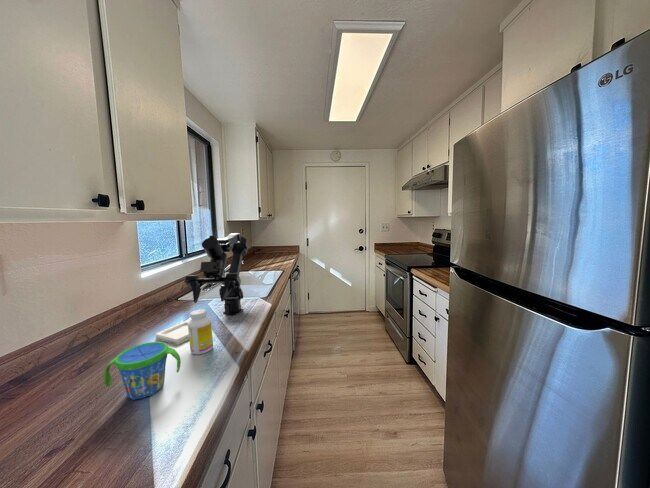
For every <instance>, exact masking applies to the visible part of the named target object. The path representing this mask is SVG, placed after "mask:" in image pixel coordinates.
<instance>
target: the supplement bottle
mask: <svg viewBox="0 0 650 488" xmlns="http://www.w3.org/2000/svg"><path fill="white" fill-rule="evenodd" d="M207 314H208V312H207V309H203V308H202V309H196V310H193V311H190V312H189V315H190V320H188V321H189V323H188V332H189V341H188V342H189V348H190V353H191V354H193V355H203V354H207V353H208V352H210V351H211V350H212V349H213V347H214V340H213V330H212V320H211V318H210V317H209V316H207Z"/></svg>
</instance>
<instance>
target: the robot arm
mask: <svg viewBox="0 0 650 488" xmlns="http://www.w3.org/2000/svg"><path fill="white" fill-rule="evenodd" d="M201 246H202V248H203V250H204V252H205V254H206V255H207V258H208V257H209V258H210V261H202V262H200V269H199V271H200V272H202V275H203V276H204V277H200V276H199V275H198V274H192V275H189V274H188V275H186V276H185V277H184V279H183V282H184V283H185V285H186V286H187V287H188V288H189V289H191V290H192V298H193V302H194V304H197V302H198V301H199V297H200V295H201V292H202V286H203V285H204V284H205V285H207V284H220V287H219V290H218V291H219V296H220V301H221V302H222V303H223V302H224V305H223V306H224V311H223V312H222V313H223V314H226V315H229V316H231V315H232V316H235V315H237V314H239V313H241V312H243V311H244V308H242V306H241V303H242V302H241V300H242V299H243V300H244V291H243V290H242V287H241V283H242V281H241V277H240V271H241V266H242V262H243V258H244V257H245V256H246V255H247V254H248V250H249V248H250V245H249V242H248V240H247V238H245V237H243V236H242V233H239V232H234V233H233V232H231V233H228V235H227V236H225V237H223V238H217V236H216V235H215V234H214V235H209V237H208V238H205V239H204V240H203V241H202V242H201ZM227 253H232V257H231V262H230V265H229V270H228V273H226V264H227V263H228V254H227ZM225 273H226V275H225V276H224V274H225Z"/></svg>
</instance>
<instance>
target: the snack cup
mask: <svg viewBox="0 0 650 488" xmlns="http://www.w3.org/2000/svg"><path fill="white" fill-rule="evenodd" d="M168 354H169V355H171V356H172V357H173V358H174V359H175V360H176V366H177V367H176V373H179V371H180V368H181V357H180V354H179V352H178V351H177V350H176V349H175V348H172V347H170V346H168V344H167V342H164V341H151V342H145V343H141V344H138V345H134V346H132V347H130V348H127V349H125V350H123V351H122V352H121V353H119V354H118V355H117V356H115V358H113V359H112V360H111V361H110V362H109V363H108V364H107V366H106V367H105V368H104V370H103V371H104V373H103V382H104V385H105V386H106V387H110V386H111V385H112V383H113V378H112V375H111V373H110V368H111V366H112V364H114V365H115V368H117V370H118V372H119V376H120V378H121V381H122V385H123V388H124V390H125V391H124V392H125V393H126V395H127V397H128V399H131V400H133V401H134V400H140V399H143V398H144V399H145V398H146V397H151V396H152V397H153V395H155V393H157V392H159V391H160V389H162V387H164V385H165V377H166V365H167V358H168Z"/></svg>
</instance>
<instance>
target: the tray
mask: <svg viewBox="0 0 650 488" xmlns="http://www.w3.org/2000/svg"><path fill="white" fill-rule="evenodd" d="M189 321H190V320H185V321H183V322H180V323H178V324H175V325H173V326H171V327H168V328H166V329H162V330H161V331H159V332H156V333H155V339H156V340H158V341H160V342H164V343H169V344H172V345H175V346H179V345H180V344H182V343H185V342H187V341H188V340H189V332H188V323H189Z"/></svg>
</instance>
